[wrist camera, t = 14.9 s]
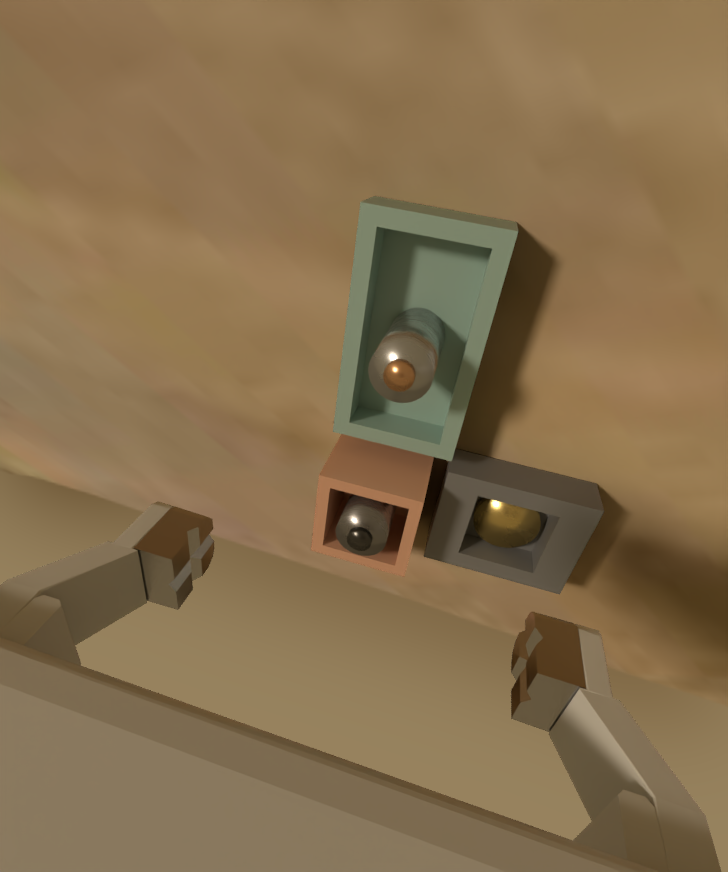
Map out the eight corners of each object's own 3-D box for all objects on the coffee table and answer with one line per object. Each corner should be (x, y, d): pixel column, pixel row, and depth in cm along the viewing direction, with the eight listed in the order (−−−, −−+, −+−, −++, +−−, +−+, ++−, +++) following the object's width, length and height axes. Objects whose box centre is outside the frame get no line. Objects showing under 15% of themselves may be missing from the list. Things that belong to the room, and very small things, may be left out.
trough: (516, 222, 26) (518, 231, 24) (455, 436, 34) (451, 461, 31) (374, 196, 27) (360, 201, 25) (345, 409, 35) (332, 431, 32)
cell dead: (406, 470, 36) (388, 529, 30) (398, 505, 37) (380, 567, 32) (361, 458, 36) (336, 515, 31) (355, 493, 38) (330, 552, 32)
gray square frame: (596, 483, 33) (604, 511, 31) (555, 564, 38) (559, 594, 35) (452, 447, 35) (448, 472, 32) (429, 529, 39) (423, 556, 36)
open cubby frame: (435, 451, 35) (424, 502, 30) (417, 520, 39) (404, 576, 34) (344, 428, 36) (319, 474, 31) (335, 498, 40) (311, 550, 35)
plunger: (549, 500, 34) (550, 507, 33) (528, 547, 36) (528, 554, 36) (483, 483, 34) (482, 490, 34) (467, 530, 37) (466, 537, 36)
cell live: (451, 313, 29) (438, 353, 24) (438, 365, 31) (424, 413, 25) (395, 302, 29) (371, 338, 24) (386, 354, 31) (361, 398, 26)
